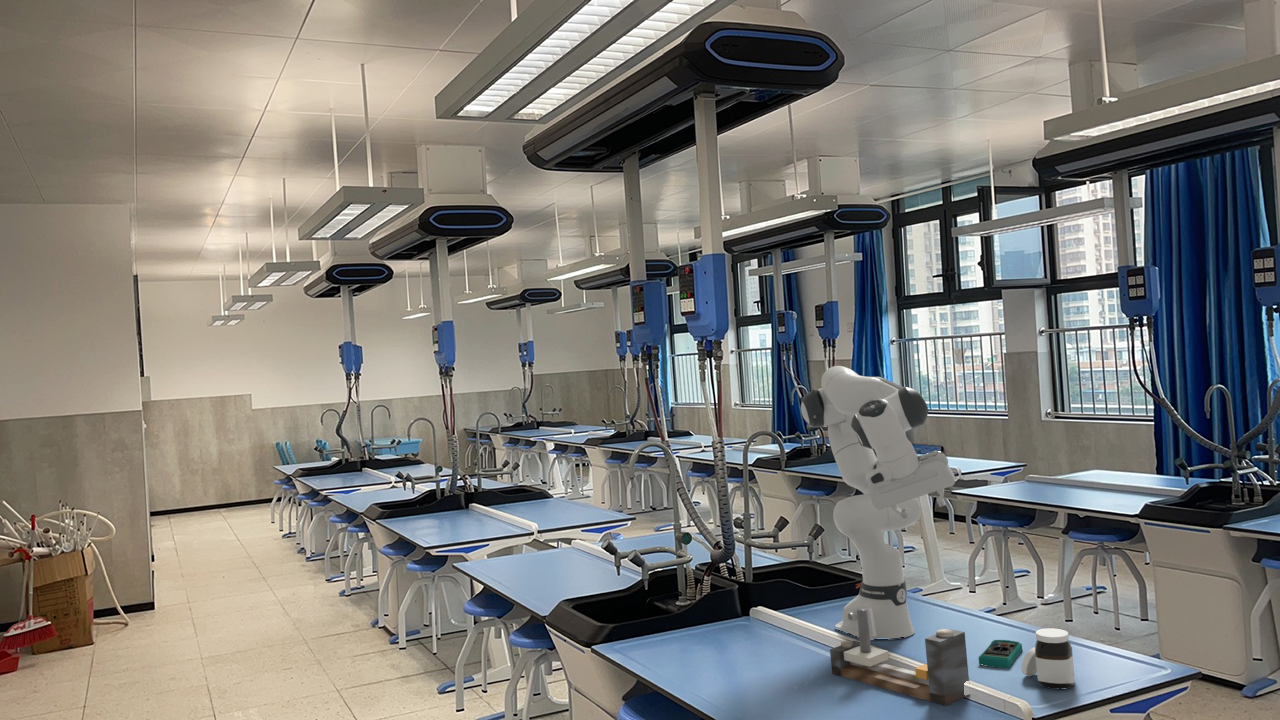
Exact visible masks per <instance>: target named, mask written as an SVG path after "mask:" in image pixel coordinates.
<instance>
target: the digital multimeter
mask: <svg viewBox="0 0 1280 720" xmlns="http://www.w3.org/2000/svg"><path fill="white" fill-rule="evenodd" d="M1022 652H1023V644H1022V643H1021V642H1019V641H1015V640H1008V639H993V640H992V641H991V643H990V644H989V645H988V647H987V648H986V649H985V650H984V651H982V653H981V654H980V655H979V656H978V664H983V665H987V666H986V667H989V666H994V667H993V668H998V667H1002V669H1010V668H1011V667H1012V666H1013V663H1014V662H1015V660H1016V659H1017V658H1018V657H1019V655H1020V654H1021V653H1022Z"/></svg>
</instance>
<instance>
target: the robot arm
mask: <svg viewBox="0 0 1280 720" xmlns="http://www.w3.org/2000/svg"><path fill="white" fill-rule="evenodd" d="M820 385H821V387H820V388H818V389H812V390H811V391H809V392H808V393H806V394H805V395H804V396H803V397H802V399H801V402H800V403H801V404H800V410H801V415H802V418H803V419H804V421H805V422H806V423H807V425H808V426H810V427H811V428H815V429H817V428H824V426H827V434H828V440H829V441H828V442H829V445H830V449H831V452H832V454H833V457H834V461H835V463H836V465H837V468H838V470H839V472H840V475H841V478H842V480H843V481H844V483H845V484H847V486H849V487H852V488H854V489H856V490H858V491H860V492H861V493H862V494H858V495H852V496H849V497H846V498H844V499H841V500H839V501H837V503H836V504H835V506H834V508H833V513H832V515H833V516H832V517H833V522H834V524H835V527H836V528H837V530H839V532H841V534H843V535H844V536H846V537H848V539H849V540H850V541H851V542H852V543H853V545H854V546H855V547H856V550H857V552H858V554H859V559H860V564H861V565H860V566H861V574H862V581H861V582H860V583H856V584H855V586H856V587H855V589H858V588H860V589H859V592H858V595H857V596H855V597H854V598H853V599H852V600H850V602H848V603H847V604H846V605H845V606H844V607H843V610H842V620H841V621H839V622H838V623H836V624H835V626H834V629H835V628H838V629H840V630H842V631H845V632H848V633H850V634H852V635H854V636H853V637H855V636H857V637H856V638H858V639H859V631H858V620H857V609H860V608H865V609H867V610H868V621H869V632H870V641H872V640H871V639H877V638H899V637H904V638H907V637H911V636H912V635H914V634H915V629H914V626H913V623H912V619H911V616H910V612H909V607H908V603H907V594H908V592H907V583H906V580H905V578H904V568H903V557H902V555H901V552H900V551H899V550H898V549H897V548H895V547H894V546H892V545H890V544H887V543H886V542H885V540H884V536H883V532H884V533H885V532H891V531H897V530H898V531H899V530H902V529H905V528H908V527H910V526H913V525H915V524H917V523H918V521H919V520H920V517H921V515H922V514H921V513H922V508H921V503H920V501H919V498H920V497H923V496H926V495H929V494H932V493H934V492H935V493H936V492H937V494H938V495H939V497H936V502H937V505H938V508H941V507H944V506H946V501H945V499H944V496H945V489H947V488H948V489H949V488H950V487H954V485H955V483H956V477H955V473H954V472H953V470H952V467H950V465H949V460H948V457H947V455H946V453H944V452H943V451H937V450H932V451H930V452H927V453H925V454H921V455H918V454H917V452H916V450H915V448H914V446H913V444H912V442H911V441H910V440H909V439H908V437H907V434H906V432H908V431H911V430H912V429H915V428H918V427H920V426H922V425H924V424H925V423H926V420H927V418H928V414H929V407H928V404H927V403H926V400H925V399H924V397H923V396H922V394H920V393H919V392H918V390H916V389H914V388H911V387H908V386H902V385H900V384H897V383H895V382H893V381H891V380H889V379H886V378H883V377H881V376H864V375H859V374H858V373H857V372H855V370H853V369H851V368H849V367H846V366H842V365H833V366H831V367H829V368H828V369H826V370H825V372H824V373H823V374H822V377H821V382H820ZM852 635H851V636H852ZM899 639H900V638H899Z"/></svg>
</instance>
